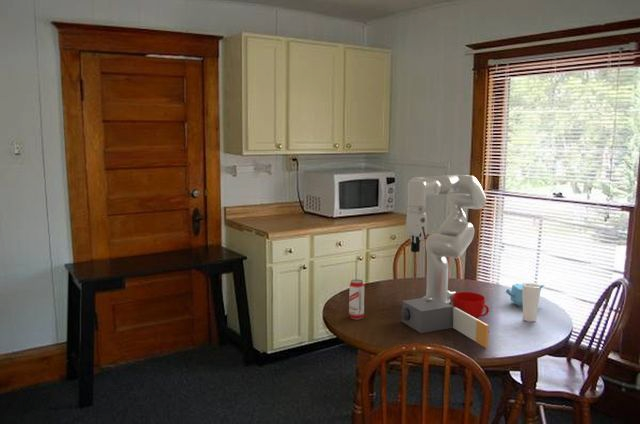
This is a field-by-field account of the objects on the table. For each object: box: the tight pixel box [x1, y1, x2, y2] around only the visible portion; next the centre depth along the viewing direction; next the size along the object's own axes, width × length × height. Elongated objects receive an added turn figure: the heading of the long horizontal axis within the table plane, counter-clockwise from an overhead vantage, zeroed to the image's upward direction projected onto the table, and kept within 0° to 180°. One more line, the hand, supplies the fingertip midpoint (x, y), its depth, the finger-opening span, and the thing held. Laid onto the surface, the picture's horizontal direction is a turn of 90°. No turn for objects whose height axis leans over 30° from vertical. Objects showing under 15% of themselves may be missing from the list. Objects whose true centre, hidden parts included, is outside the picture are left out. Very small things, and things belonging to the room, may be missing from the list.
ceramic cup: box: [452, 291, 490, 320], centre depth 225 cm, size 13×17×10 cm
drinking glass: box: [522, 282, 541, 323], centre depth 226 cm, size 7×7×15 cm
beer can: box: [348, 278, 365, 321], centre depth 228 cm, size 6×6×16 cm
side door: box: [451, 307, 490, 349], centre depth 207 cm, size 22×1×8 cm, turn 20°
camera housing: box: [400, 296, 453, 334], centre depth 221 cm, size 16×14×10 cm
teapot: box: [505, 282, 545, 309], centre depth 246 cm, size 18×14×10 cm
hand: (415, 251), depth 232 cm, fingers closed
